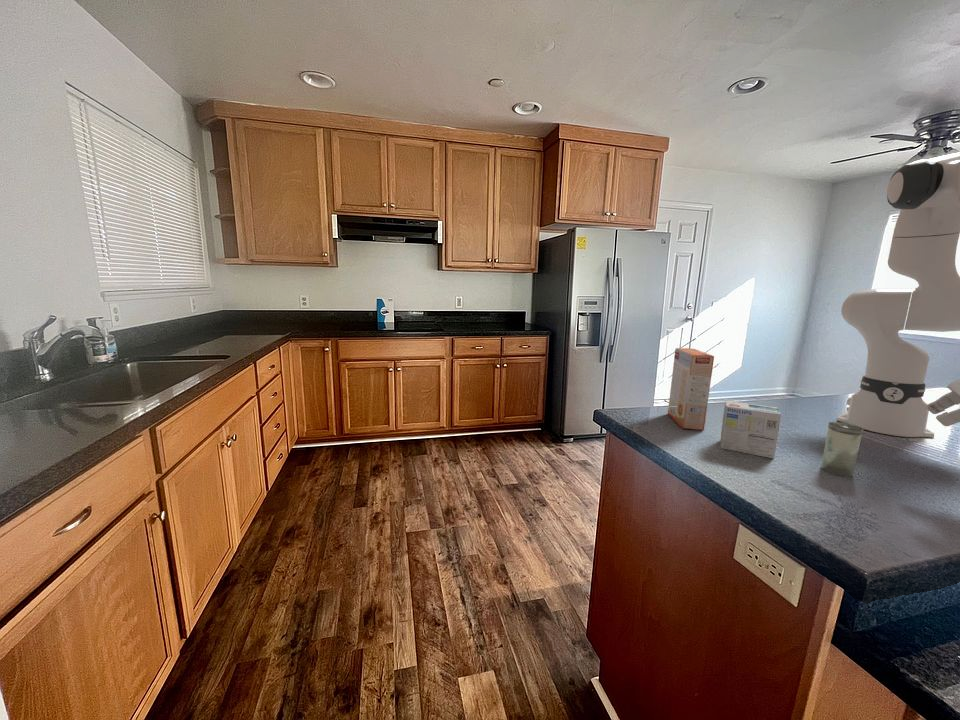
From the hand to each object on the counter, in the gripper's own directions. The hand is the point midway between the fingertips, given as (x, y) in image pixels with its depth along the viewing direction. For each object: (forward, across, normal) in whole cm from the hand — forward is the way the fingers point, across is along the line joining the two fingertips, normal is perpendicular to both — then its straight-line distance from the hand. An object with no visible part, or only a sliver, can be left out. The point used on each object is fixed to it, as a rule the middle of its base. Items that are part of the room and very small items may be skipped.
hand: (933, 416), depth 69 cm
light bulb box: (+30, 0, -8) cm, 31 cm away
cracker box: (+41, -11, -20) cm, 47 cm away
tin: (+18, 0, +3) cm, 19 cm away
